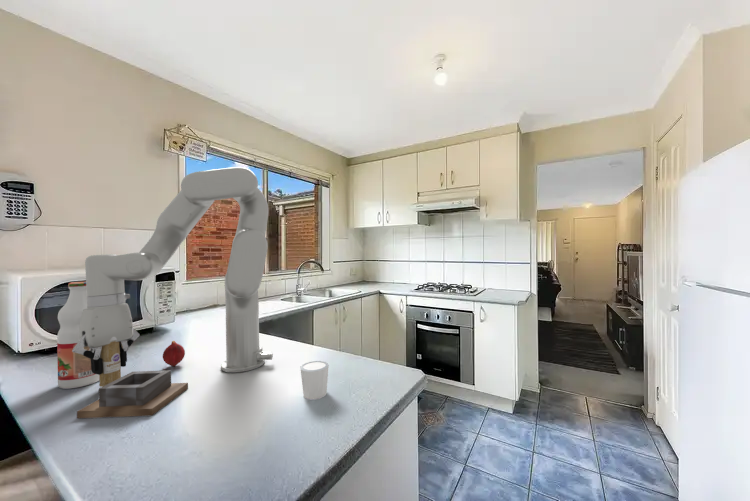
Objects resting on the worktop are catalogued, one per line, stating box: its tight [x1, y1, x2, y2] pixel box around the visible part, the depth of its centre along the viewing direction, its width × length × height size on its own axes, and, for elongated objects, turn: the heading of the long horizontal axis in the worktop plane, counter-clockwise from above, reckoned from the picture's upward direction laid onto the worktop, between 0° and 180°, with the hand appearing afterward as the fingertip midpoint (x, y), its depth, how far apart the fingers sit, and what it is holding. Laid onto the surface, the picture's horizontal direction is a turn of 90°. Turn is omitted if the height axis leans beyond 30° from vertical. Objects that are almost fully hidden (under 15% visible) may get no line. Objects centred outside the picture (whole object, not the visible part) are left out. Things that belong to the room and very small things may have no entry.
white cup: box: [300, 360, 330, 401], centre depth 74 cm, size 7×7×7 cm
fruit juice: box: [56, 281, 100, 390], centre depth 84 cm, size 9×9×28 cm
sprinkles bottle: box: [98, 337, 122, 388], centre depth 80 cm, size 5×5×14 cm
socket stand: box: [76, 369, 189, 419], centre depth 72 cm, size 16×13×6 cm
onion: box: [162, 340, 186, 367], centre depth 94 cm, size 6×6×8 cm
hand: (109, 369), depth 80 cm, fingers closed on sprinkles bottle, 4 cm apart
